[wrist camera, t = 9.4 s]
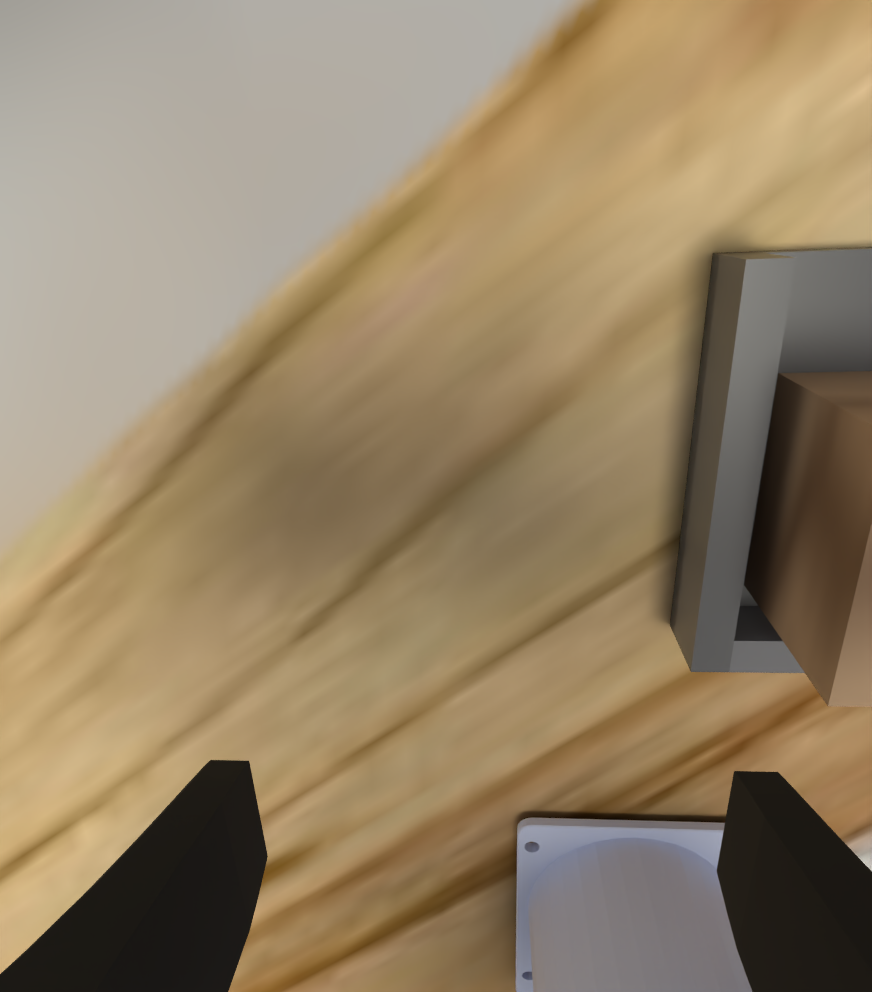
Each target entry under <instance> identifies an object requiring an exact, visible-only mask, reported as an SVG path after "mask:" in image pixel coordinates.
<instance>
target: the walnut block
mask: <svg viewBox="0 0 872 992" xmlns="http://www.w3.org/2000/svg"><path fill="white" fill-rule="evenodd" d="M744 586H745V587H746V589H747V590H748V591H749V593H750V594H751V596H752V597H753V599H754V600H755V602H756V603H757V604H758V606H759V607H760V609H761V610H762V612H763V613H764V615H765V616H766V617H767V619H768V620H769V622H770V623H771V625H772V626H773V627H774V629H775V630H776V632H777V633H778V635H779V636H780V638H781V639H782V640H783V642H784V643H785V645H786V646H787V648H788V649H789V651H790V652H791V653H792V655H793V656H794V658H795V659H796V661H797V662H798V664H799V665H800V666H801V668H802V669H803V671H804V672H805V674H806V675H807V677H808V678H809V679H810V681H811V682H812V684H813V685H814V687H815V688H816V690H817V691H818V692H819V694H820V695H821V697H822V698H823V700H824V701H825V703H826V704H827V705H828V706H849V707H872V371H852V372H809V373H778V379H777V385H776V391H775V397H774V404H773V410H772V416H771V422H770V428H769V434H768V440H767V447H766V453H765V459H764V465H763V471H762V477H761V484H760V490H759V496H758V502H757V508H756V514H755V520H754V527H753V533H752V539H751V545H750V551H749V557H748V564H747V570H746V576H745V582H744Z"/></svg>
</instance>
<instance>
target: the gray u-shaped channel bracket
mask: <svg viewBox="0 0 872 992" xmlns="http://www.w3.org/2000/svg"><path fill="white" fill-rule="evenodd" d="M852 371H872V247H868V248H841V249H814V250H787V251H760V252H733V253H713V258H712V266H711V275H710V284H709V292H708V301H707V310H706V318H705V327H704V336H703V344H702V353H701V362H700V370H699V379H698V388H697V396H696V405H695V414H694V422H693V431H692V440H691V448H690V457H689V466H688V474H687V483H686V491H685V500H684V509H683V517H682V526H681V535H680V543H679V552H678V561H677V569H676V578H675V587H674V595H673V604H672V613H671V621H670V626H671V628H672V631H673V633H674V635H675V637H676V640H677V642H678V644H679V646H680V649H681V651H682V653H683V655H684V658H685V660H686V662H687V664H688V666H689V669H690V671H691V672H766V673H805V672H804V671H803V669H802V668H801V666H800V665H799V664H798V662H797V661H796V659H795V658H794V656H793V655H792V653H791V652H790V651H789V649H788V648H787V646H786V645H785V643H784V642H783V640H782V639H781V638H780V636H779V635H778V633H777V632H776V630H775V629H774V627H773V626H772V625H771V623H770V622H769V620H768V619H767V617H766V616H765V615H764V613H763V612H762V610H761V609H760V607H759V606H758V604H757V603H756V602H755V600H754V599H753V597H752V596H751V594H750V593H749V591H748V590H747V589H746V587H745V586H744V582H745V576H746V570H747V564H748V557H749V551H750V545H751V539H752V533H753V527H754V520H755V514H756V508H757V502H758V496H759V490H760V484H761V477H762V471H763V465H764V459H765V453H766V447H767V440H768V434H769V428H770V422H771V416H772V410H773V404H774V397H775V391H776V385H777V379H778V373H809V372H852Z"/></svg>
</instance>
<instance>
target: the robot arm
mask: <svg viewBox="0 0 872 992" xmlns="http://www.w3.org/2000/svg"><path fill="white" fill-rule="evenodd" d="M530 842H532V843H530ZM267 857H268V856H267V851H266V846H265V840H264V835H263V830H262V825H261V820H260V815H259V810H258V805H257V799H256V794H255V789H254V784H253V779H252V774H251V769H250V763H249V761H227V760H210V761H209V762H208V763H207V764H206V765H205V766H204V767H203V768H202V769H201V770H200V771H199V772H198V773H197V775H196V776H195V777H194V778H193V779H192V780H191V781H190V782H189V783H188V784H187V785H186V786H185V788H184V789H183V790H182V791H181V792H180V793H179V794H178V795H177V796H176V797H175V799H174V800H173V801H172V802H171V803H170V804H169V805H168V806H167V807H166V808H165V809H164V811H163V812H162V813H161V814H160V815H159V816H158V817H157V818H156V819H155V820H154V821H153V822H152V824H151V825H150V826H149V827H148V828H147V829H146V830H145V831H144V832H143V833H142V834H141V835H140V837H139V838H138V839H137V840H136V841H135V842H134V843H133V844H132V845H131V846H130V847H129V848H128V849H127V850H126V851H125V852H124V853H123V854H122V855H121V856H120V858H119V859H118V860H117V861H116V862H115V863H114V864H113V865H112V866H111V867H110V868H109V869H108V870H107V871H106V872H105V873H104V874H103V875H102V876H101V877H100V878H99V879H98V880H97V881H96V883H95V884H94V885H93V886H92V887H91V888H90V889H89V890H88V891H87V892H86V893H85V894H84V895H83V896H82V897H81V898H80V899H79V900H78V901H77V902H76V903H75V904H74V905H72V906H71V907H70V908H69V909H68V910H67V911H66V912H65V913H64V914H63V915H62V916H61V917H60V918H59V919H58V920H57V921H56V922H55V923H54V924H53V925H52V926H51V927H50V928H49V929H48V930H47V931H46V932H45V933H44V934H43V935H42V936H41V937H39V938H38V939H37V940H36V941H35V942H34V943H33V944H32V945H31V946H30V947H29V948H28V949H27V950H26V951H25V952H24V953H23V954H22V955H21V956H20V957H18V958H17V959H16V960H15V961H14V962H13V963H12V964H11V965H10V966H9V967H8V968H6V969H5V970H4V971H3V972H2V973H1V974H0V992H228V990H229V988H230V985H231V982H232V979H233V976H234V973H235V971H236V968H237V965H238V962H239V959H240V956H241V954H242V951H243V948H244V945H245V942H246V939H247V936H248V933H249V930H250V927H251V923H252V919H253V915H254V911H255V907H256V903H257V899H258V895H259V891H260V887H261V882H262V878H263V874H264V870H265V865H266V861H267ZM515 984H516V992H872V871H871V870H870V869H869V868H868V867H867V866H866V865H865V864H864V863H863V862H862V861H861V860H860V859H859V858H858V857H857V856H856V855H855V854H854V853H853V851H852V850H851V849H850V848H849V847H848V846H847V845H846V844H845V843H844V842H843V841H842V840H841V839H840V838H839V837H838V836H837V834H836V833H835V832H834V831H833V830H832V829H831V828H830V827H829V826H828V825H827V824H826V823H825V822H824V821H823V819H822V818H821V817H820V816H819V815H818V814H817V813H816V812H815V811H814V810H813V809H812V808H811V807H810V805H809V804H808V803H807V802H806V801H805V800H804V799H803V798H802V797H801V796H800V795H799V794H798V793H797V791H796V790H795V789H794V788H793V787H792V786H791V785H790V784H789V783H788V782H787V781H786V780H785V779H784V778H783V777H782V776H781V775H780V774H779V773H778V772H747V771H734V775H733V781H732V787H731V792H730V798H729V803H728V809H727V815H726V820H725V823H716V822H679V821H642V820H605V819H568V818H526V819H524V820H521V821H520V823H519V824H518V827H517V886H516V977H515Z"/></svg>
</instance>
